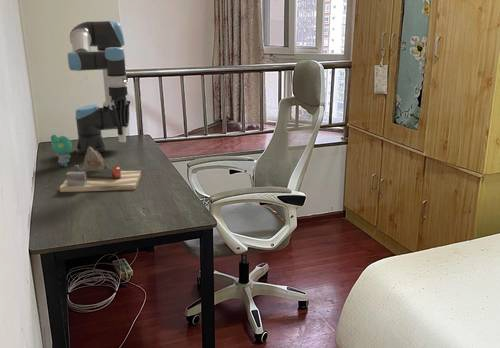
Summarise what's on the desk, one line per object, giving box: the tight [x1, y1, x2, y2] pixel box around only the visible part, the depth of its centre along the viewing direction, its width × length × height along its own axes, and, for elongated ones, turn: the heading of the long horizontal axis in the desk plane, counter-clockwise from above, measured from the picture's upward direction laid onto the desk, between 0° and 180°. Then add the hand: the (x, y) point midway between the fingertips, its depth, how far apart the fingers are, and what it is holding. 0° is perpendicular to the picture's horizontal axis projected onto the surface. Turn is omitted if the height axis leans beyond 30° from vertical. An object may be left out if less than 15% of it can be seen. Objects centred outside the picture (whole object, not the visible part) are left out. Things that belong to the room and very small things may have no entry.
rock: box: [82, 147, 106, 169], centre depth 225 cm, size 14×10×8 cm
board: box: [59, 164, 142, 193], centre depth 209 cm, size 19×30×7 cm, turn 95°
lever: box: [79, 166, 122, 179], centre depth 210 cm, size 4×18×4 cm, turn 83°
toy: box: [50, 134, 73, 168], centre depth 231 cm, size 9×8×15 cm
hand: (122, 141), depth 211 cm, fingers closed
